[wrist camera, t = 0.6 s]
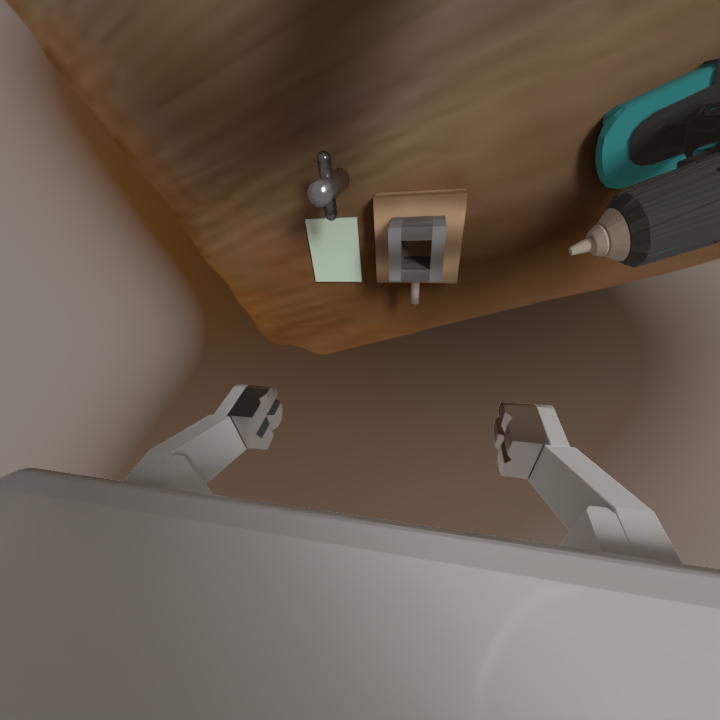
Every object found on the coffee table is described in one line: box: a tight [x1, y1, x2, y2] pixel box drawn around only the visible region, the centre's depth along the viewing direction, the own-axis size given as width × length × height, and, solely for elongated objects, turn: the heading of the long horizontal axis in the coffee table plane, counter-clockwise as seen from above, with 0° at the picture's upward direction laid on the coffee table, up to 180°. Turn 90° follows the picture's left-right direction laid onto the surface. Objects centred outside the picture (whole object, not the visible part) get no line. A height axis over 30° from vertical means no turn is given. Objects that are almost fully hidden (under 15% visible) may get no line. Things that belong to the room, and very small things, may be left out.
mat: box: [305, 217, 362, 282], centre depth 49 cm, size 10×8×1 cm
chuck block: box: [373, 189, 468, 304], centre depth 43 cm, size 14×12×8 cm
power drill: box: [569, 58, 720, 267], centre depth 25 cm, size 26×9×25 cm, turn 116°
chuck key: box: [307, 151, 349, 221], centre depth 39 cm, size 8×3×10 cm, turn 5°
